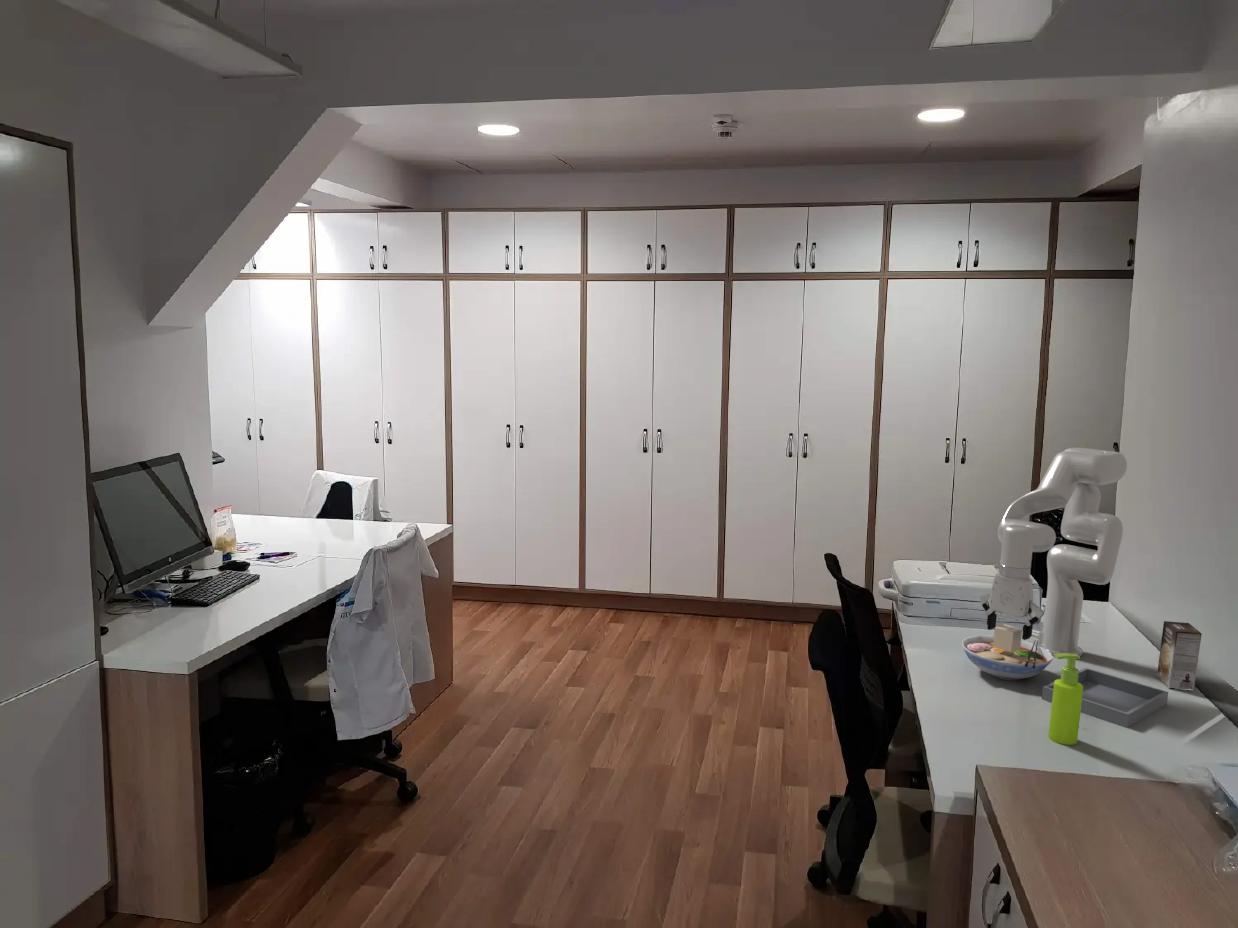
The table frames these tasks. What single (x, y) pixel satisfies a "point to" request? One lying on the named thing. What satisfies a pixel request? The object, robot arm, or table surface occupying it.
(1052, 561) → the robot arm
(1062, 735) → the soap dispenser
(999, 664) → the ramen bowl
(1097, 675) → the parts tray
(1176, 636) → the coffee box
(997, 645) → the tan wooden cube
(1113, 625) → the table surface
